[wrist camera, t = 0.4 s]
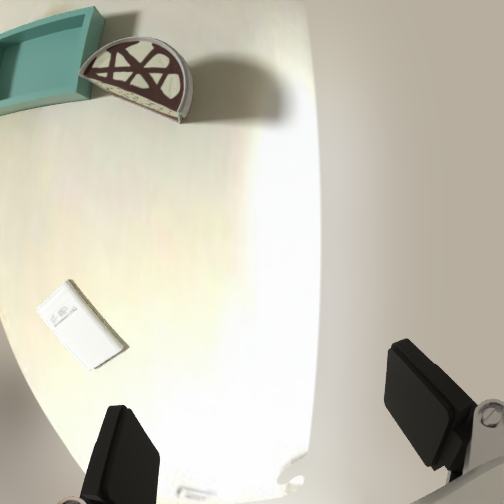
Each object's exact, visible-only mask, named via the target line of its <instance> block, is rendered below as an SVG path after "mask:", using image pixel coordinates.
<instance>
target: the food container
mask: <svg viewBox="0 0 504 504" xmlns="http://www.w3.org/2000/svg"><path fill="white" fill-rule="evenodd" d="M78 75H80V76H81V77H84V78H86V79H88V80H89V81H91V82H92V83H94V84H96V85H97V86H99V87H100V88H102V89H104V90H105V91H107V92H108V93H110V94H111V95H113V96H115V97H117V98H119V99H122V100H125V101H127V102H130V103H132V104H135V105H137V106H140V107H142V108H145V109H147V110H149V111H152V112H154V113H157V114H159V115H161V116H164V117H166V118H168V119H171V120H173V121H175V122H177V123H181V121H182V119H183V117H185V118H186V115H187V113H188V111H189V108H190V105H191V101H192V95H193V80H192V76H191V71H190V69H189V67H188V65H187V63H186V61H185V60H184V58H183V57H182V56H181V55H180V54H179V53H178V52H177V51H176V50H175V49H174V48H172V47H171V46H169V45H168V44H166V43H165V42H162V41H160V40H158V39H154V38H150V37H138V36H137V37H127V38H123V39H119V40H116V41H114V42H111V43H109V44H107V45H105V46H104V47H102V48H101V49H99V50H98V51H96V52H95V53H94V54H93V55H92V56H91V57H90V58H89V59H88V60H87V61H86V62H85V63H84V64H83V66H82V67H81V69H80V70H79V72H78Z"/></svg>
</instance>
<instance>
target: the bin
mask: <svg viewBox="0 0 504 504" xmlns="http://www.w3.org/2000/svg"><path fill="white" fill-rule="evenodd" d="M104 22H105V19H104V18H103V17H102V15H101V14H100V13H99V11H98V10H97V9H96V7H95V6H93V7H88V8H83V9H78V10H74V11H70V12H66V13H62V14H58V15H54V16H51V17H47V18H44V19H41V20H38V21H35V22H32V23H29V24H26V25H23V26H20V27H17V28H15V29H12V30H9V31H7V32H4V33H2V34H0V116H2V115H6V114H10V113H14V112H19V111H23V110H28V109H33V108H38V107H43V106H49V105H55V104H61V103H68V102H75V101H83V100H90V97H91V90H92V82H91V81H89V80H88V79H86V78H84V77H81V76H80V75H78V72H79V70H80V69H81V67H82V66H83V64H84V63H85V62H86V61H87V60H88V59H89V58H90V57H91V56H92V55H93V54H94V53H95V52H96V51H98V49H99V44H100V39H101V35H102V30H103V26H104Z"/></svg>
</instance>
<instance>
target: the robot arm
mask: <svg viewBox="0 0 504 504" xmlns="http://www.w3.org/2000/svg"><path fill="white" fill-rule="evenodd" d="M384 402H385V406H386V408H387V409H388V411H389V412H390V413H391V415H392V417H393V418H394V419H395V421H396V422H397V424H398V425H399V427H400V428H401V430H402V431H403V433H404V434H405V435H406V437H407V439H408V440H409V441H410V443H411V444H412V446H413V447H414V449H415V450H416V452H417V453H418V455H419V456H420V458H421V459H422V460H423V462H424V464H425V465H426V466H427V467H429V466H431V467H432V469H433V470H434V471H435V470H437V469H439V468H441V467H442V466H445V467H446V468H447V470H448V476H447V481H446V485H445V486H443V487H441V488H440V489H438V490H436V491H434V492H432V493H430V494H428V495H427V496H425V497H423V498H421V499H419V500H417V501H415V502H413V503H411V504H504V402H503V401H500V400H497V399H489V400H485V401H483V402H481V403H480V404H479V405H477V404H476V403H475V402H474V401H473V400H472V399H471V398H470V397H469V396H468V395H467V394H466V393H465V392H464V391H463V390H462V389H461V388H460V387H459V386H458V385H457V384H456V383H455V382H454V381H453V380H452V379H451V378H450V377H449V376H448V375H447V374H446V373H445V372H444V371H443V370H442V369H441V368H440V367H439V366H438V365H436V364H434V363H433V362H432V361H431V360H430V359H428V357H427V356H426V355H424V353H422V352H421V351H420V350H419V349H418V348H417V347H416V346H415V345H414V344H413V343H412V342H411V341H410V340H409V339H403V340H400V341H398V342H395V343H393V344H392V346H391V348H390V349H389V350H388V358H387V372H386V384H385V395H384ZM159 465H160V456H159V453H158V451H157V449H156V448H155V446H154V445H153V443H152V442H151V440H150V439H149V437H148V436H147V434H146V433H145V431H144V430H143V428H142V426H141V425H140V423H139V422H138V420H137V418H136V417H135V415H134V413H133V412H132V410H131V409H130V408H128V409H127V407H126V406H125V405H117V406H109V407H108V409H107V412H106V415H105V418H104V421H103V424H102V427H101V430H100V433H99V436H98V439H97V442H96V443H95V446H94V449H93V452H92V455H91V459H90V462H89V465H88V469H87V472H86V476H85V479H84V483H83V487H82V490H81V494H80V498H78V497H67V498H64V499H62V500H61V501H59V503H58V504H156V497H157V485H158V474H159Z"/></svg>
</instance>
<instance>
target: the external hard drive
mask: <svg viewBox="0 0 504 504" xmlns="http://www.w3.org/2000/svg"><path fill="white" fill-rule="evenodd" d="M36 311H37V312H38V314H39V315H40V316H41V317H42V319H43V320H44V321H45V322H46V324H47V325H48V326H49V327H50V329H51V330H52V331H53V332H54V333H55V335H56V336H57V337H58V338H59V339H60V341H61V342H62V343H63V344H64V345H65V346H66V347H67V349H68V350H69V351H70V352H71V353H72V354H73V355H74V356H75V357H76V358H77V360H78V361H79V362H80V363H81V364H82V365H83V366H84V367H85V368H86V369H87V370H88V371H91V370H92V369H94V368H95V367H97V366H98V365H100V364H102V363H103V362H105V361H106V360H108V359H109V358H111V357H112V356H114V355H115V354H117V353H119V352H120V351H121V350H122V349H123V347H124V346H123V345H122V343H121V342H120V341H119V340H118V339H117V338H116V337H115V336H114V335H113V334H112V332H111V331H110V330H109V329H108V328H107V327H106V326H105V325H104V323H103V322H102V321H101V320H100V319H99V318H98V316H97V315H96V314H95V313H94V312H93V310H92V309H91V308H90V307H89V306H88V304H87V303H86V302H85V301H84V299H83V298H82V297H81V296H80V294H79V293H78V292H77V291H76V289H75V288H74V287H73V285H72V284H71V283H70V281H69V280H67V281H65V282H64V283H63V284H62V285H61V286H60V287H59V288H58V289H57V290H56V291H55V292H54V293H52V294H51V295H50V296H49V297H48V298H47V299H46V300H45V301H44V302H43V303H42V304H41V305H40V306H39V307H38V308H37V309H36Z"/></svg>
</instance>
